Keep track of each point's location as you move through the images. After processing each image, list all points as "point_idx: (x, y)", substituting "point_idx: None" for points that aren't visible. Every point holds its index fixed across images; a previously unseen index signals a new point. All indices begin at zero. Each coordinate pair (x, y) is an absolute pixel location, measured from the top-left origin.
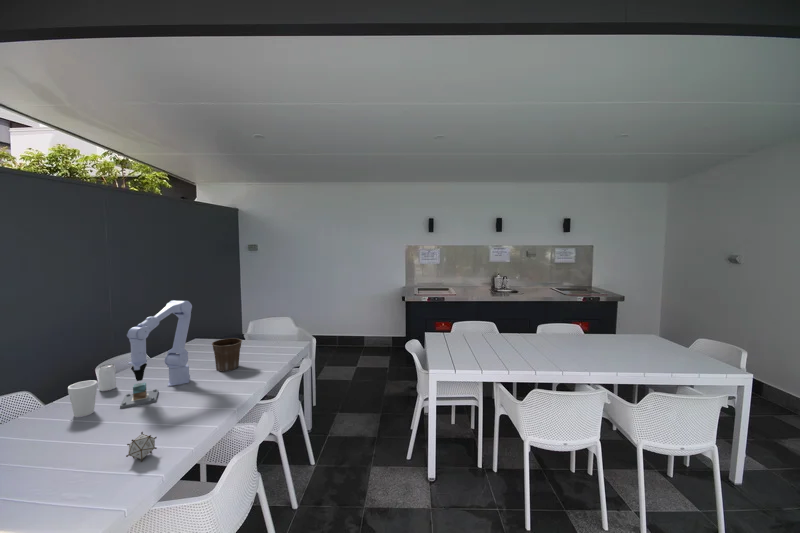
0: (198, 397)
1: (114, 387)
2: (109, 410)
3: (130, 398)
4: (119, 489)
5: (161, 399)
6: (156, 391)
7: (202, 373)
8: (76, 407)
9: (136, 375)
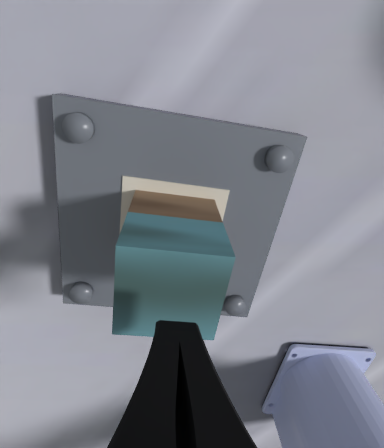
0: (27, 426)
1: None
2: (63, 5)
3: (190, 171)
4: None
5: (96, 314)
6: None
7: None
8: None
9: (144, 409)
